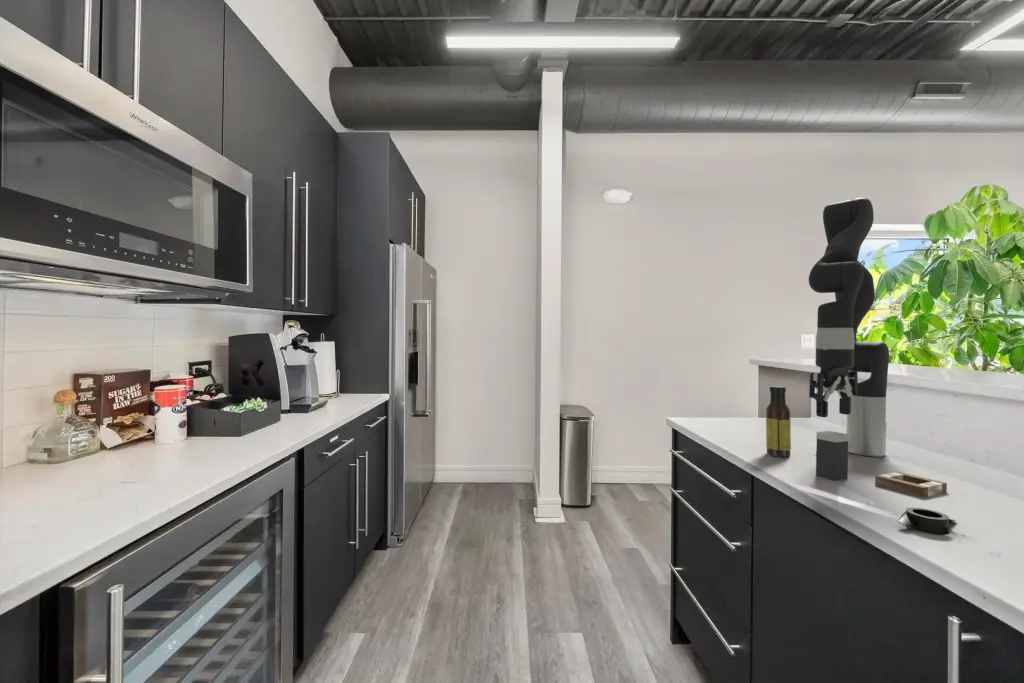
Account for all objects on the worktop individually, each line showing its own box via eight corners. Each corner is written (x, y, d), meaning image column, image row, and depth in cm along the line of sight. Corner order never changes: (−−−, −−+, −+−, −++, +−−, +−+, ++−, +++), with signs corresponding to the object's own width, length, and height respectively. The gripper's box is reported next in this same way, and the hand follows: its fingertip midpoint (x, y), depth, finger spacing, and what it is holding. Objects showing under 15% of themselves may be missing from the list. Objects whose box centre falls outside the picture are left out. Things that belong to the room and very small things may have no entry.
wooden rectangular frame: (898, 484, 110) (898, 471, 110) (946, 496, 101) (946, 482, 101) (875, 489, 106) (875, 475, 106) (923, 502, 98) (923, 487, 98)
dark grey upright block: (827, 475, 115) (828, 430, 114) (847, 481, 110) (848, 434, 110) (815, 477, 113) (816, 432, 113) (835, 483, 109) (836, 435, 108)
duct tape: (885, 517, 90) (885, 502, 90) (952, 526, 86) (952, 510, 86) (899, 532, 83) (900, 516, 83) (974, 543, 79) (974, 525, 79)
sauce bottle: (790, 454, 137) (792, 386, 137) (790, 458, 132) (792, 388, 132) (765, 451, 140) (767, 384, 140) (764, 455, 135) (766, 386, 135)
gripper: (837, 346, 117) (836, 411, 118) (799, 347, 111) (798, 415, 112) (870, 347, 110) (869, 415, 111) (831, 348, 105) (830, 420, 105)
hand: (833, 415), depth 111 cm, fingers open, 8 cm apart
